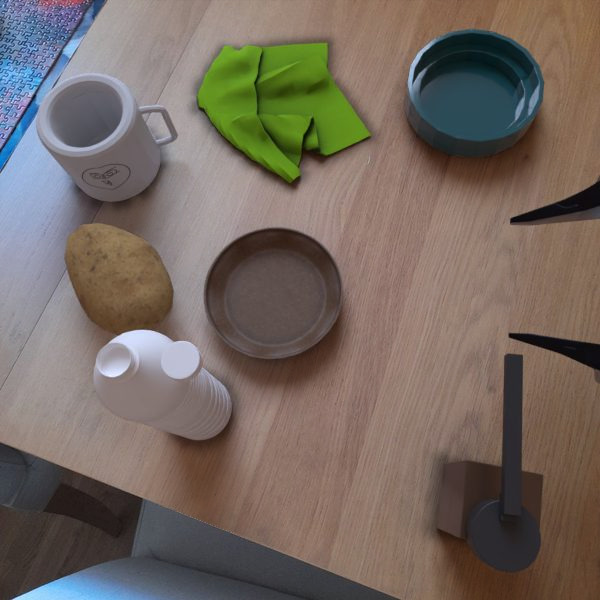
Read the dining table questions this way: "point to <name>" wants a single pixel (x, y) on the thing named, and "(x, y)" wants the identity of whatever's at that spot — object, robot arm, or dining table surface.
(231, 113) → the cloth
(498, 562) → the ladle
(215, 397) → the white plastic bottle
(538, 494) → the brown rectangular block
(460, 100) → the bowl
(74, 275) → the potato
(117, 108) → the mug
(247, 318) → the saucer
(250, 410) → the dining table surface
